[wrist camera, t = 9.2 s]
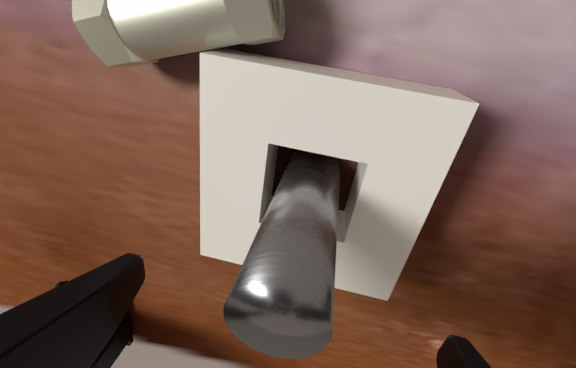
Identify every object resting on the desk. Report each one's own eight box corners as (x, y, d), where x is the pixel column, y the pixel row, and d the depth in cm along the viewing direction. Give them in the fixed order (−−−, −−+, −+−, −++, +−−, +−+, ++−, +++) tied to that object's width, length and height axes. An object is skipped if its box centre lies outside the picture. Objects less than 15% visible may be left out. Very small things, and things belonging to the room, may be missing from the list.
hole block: (219, 225, 20) (200, 254, 17) (226, 48, 14) (199, 52, 12) (382, 263, 19) (387, 300, 16) (454, 89, 13) (479, 103, 11)
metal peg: (284, 186, 17) (221, 342, 9) (292, 140, 16) (225, 271, 7) (334, 197, 17) (319, 369, 8) (346, 151, 16) (344, 301, 7)
